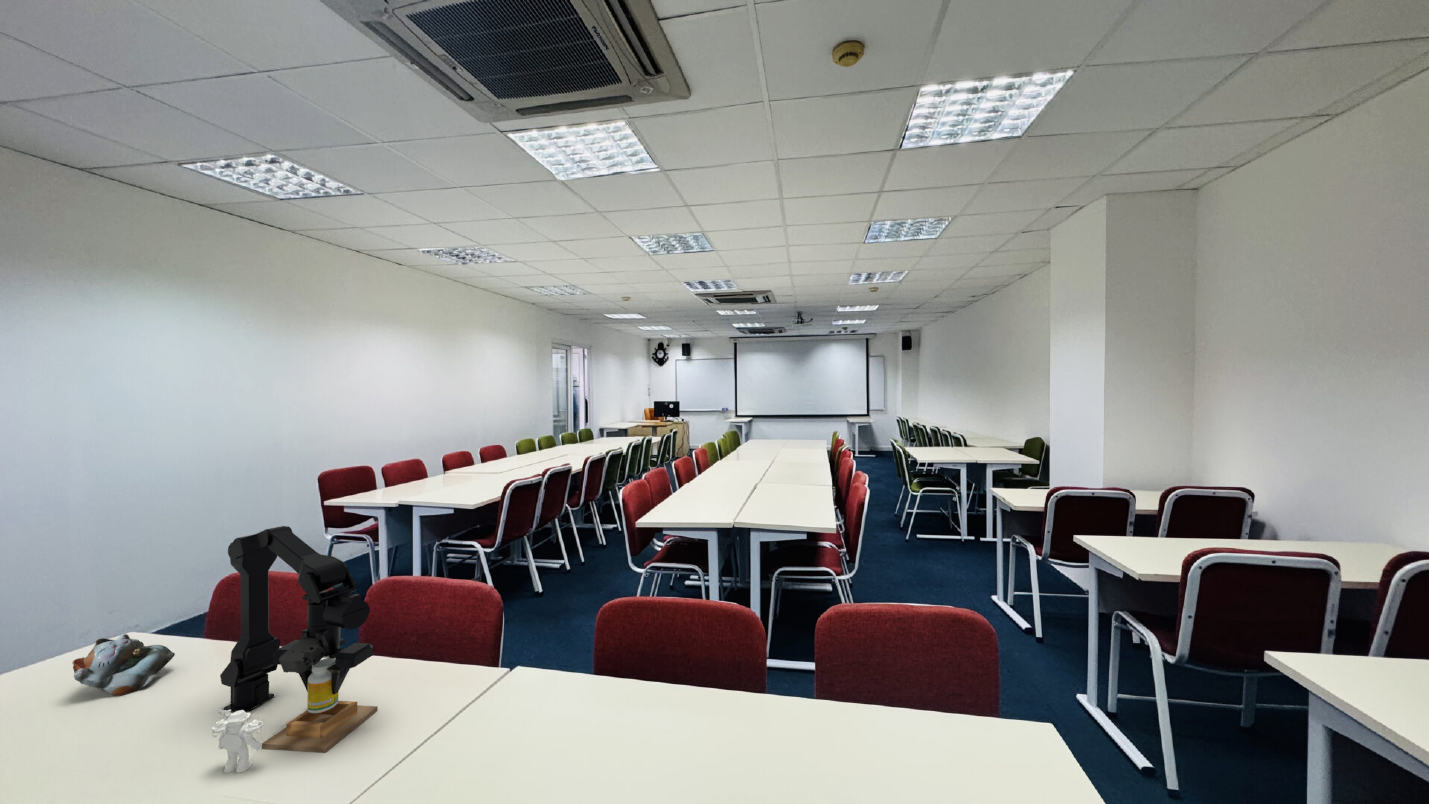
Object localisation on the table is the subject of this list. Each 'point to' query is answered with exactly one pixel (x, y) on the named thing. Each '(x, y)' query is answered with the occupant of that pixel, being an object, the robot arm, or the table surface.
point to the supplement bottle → (321, 688)
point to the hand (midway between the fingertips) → (323, 692)
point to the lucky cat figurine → (121, 665)
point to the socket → (320, 728)
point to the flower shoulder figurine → (237, 738)
